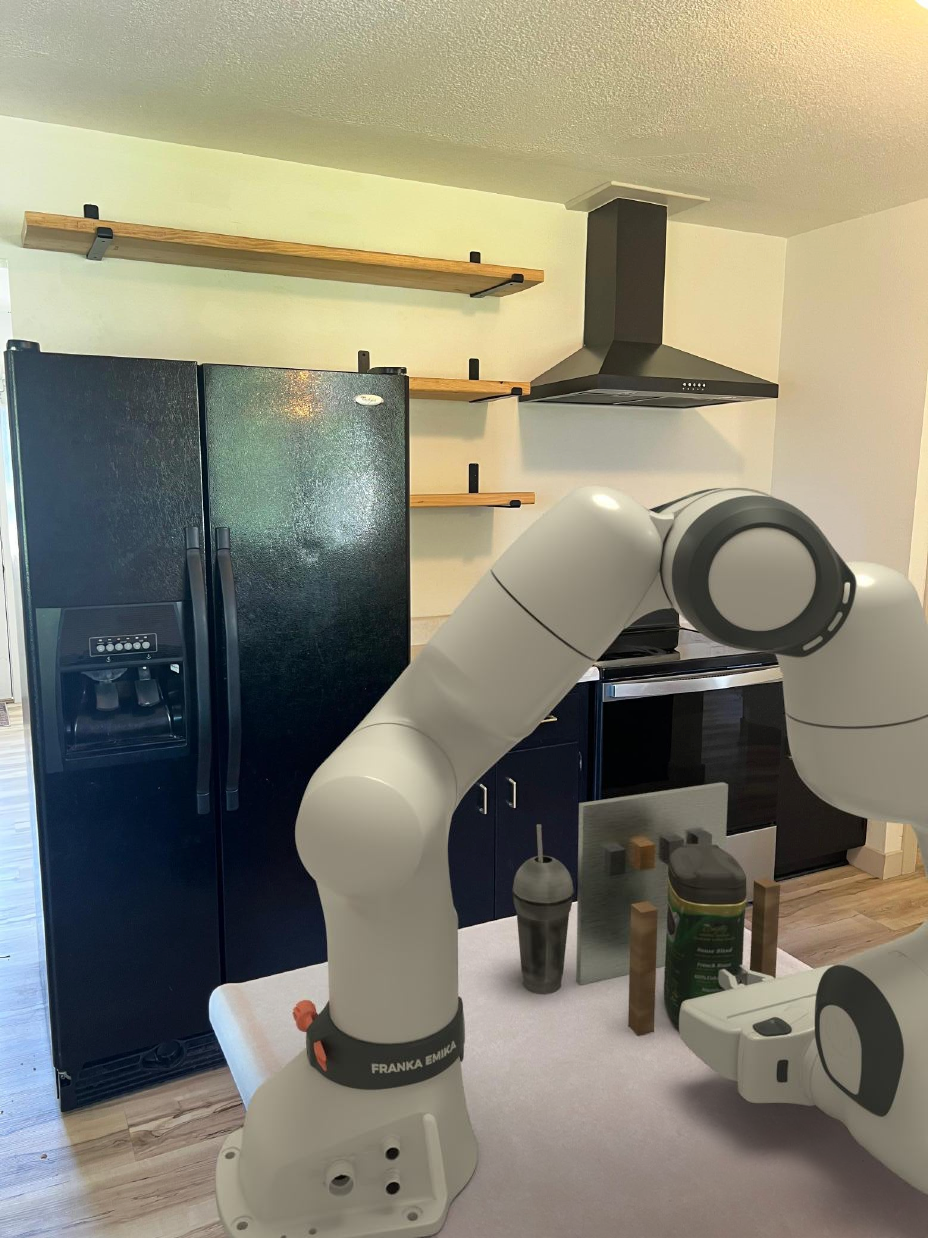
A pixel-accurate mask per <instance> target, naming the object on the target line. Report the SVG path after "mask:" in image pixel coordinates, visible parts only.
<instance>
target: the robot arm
mask: <svg viewBox="0 0 928 1238" xmlns="http://www.w3.org/2000/svg"><path fill="white" fill-rule="evenodd" d="M671 608H672V609H674V610H675V611H676V612H677V613H678V614H679V615H680V616H681V617H682V618H683V619H684V620H685V621H687V622H688V623H689V624H690V625H691V626H692V627H693V628H694V629H695V630H696V631H697V632H699V633H700V634H701V635H703V636H704V637H706V638H707V639H709V640H711V641H713V642H715V643H717V644H720V645H723V646H725V647H728V648H731V649H732V648H733V649H737V650H742V651H748V652H749V651H750V652H758V653H767V654H773V655H775V657H776V660H777V663H778V667H779V670H780V672H781V673H782V690H783V701H784V702H783V703H784V714H785V722H786V731H787V732H786V733H787V740H788V747H789V751H790V756H791V759H792V762H793V764H794V768H795V770H796V771H797V774H798V776H799V778H800V779H801V781H802V782H803V783H804V784H805V785H806V786H807V787H808V789H809V790H810V791H812V792H813V794H814V795H816V796H817V797H818V798H819V799H820V800H822V801H824V802H826V803H827V804H829V805H830V806H832V807H834V808H836V809H838V810H840V811H843V812H845V813H848V814H851V815H854V816H856V817H861V818H864V819H868V820H873V821H877V822H883V823H892V824H903V825H909V826H910V827H911V828H912V831H913V832H914V834H915V837H916V840H917V841H916V842H917V844H918V849H919V853H920V857H921V860H922V864H923V865H922V866H923V868H924V874H925V876H926V881H927V882H928V623H927V617H926V616H925V611H924V608H923V606H922V602H921V599H920V596H919V593H918V591H917V589H916V587H915V585H914V584H913V582H912V581H911V580H910V579H909V578H907V576H906V575H904V574H903V573H902V572H900V571H898V570H896V569H895V568H892V567H889V566H886V565H884V564H879V563H876V562H869V561H863V560H862V561H861V560H860V561H859V560H857V561H844V559H843V558H842V556H841V555H840V554H839V553H838V552H837V550H836V549H835V548H834V546H833V545H832V543H831V542H830V541H829V539H828V538H827V537H826V535H825V534H824V532H823V531H822V530H821V529H820V527H819V526H818V525H817V524H816V523H815V522H814V521H813V520H812V518H811V517H809V516H808V515H807V514H806V513H805V512H803V511H802V510H801V509H799V508H798V507H796V506H795V505H793V504H791V503H789V502H787V501H785V500H783V499H782V500H781V499H780V498H776V497H775V496H773V495H771V494H768V493H766V492H763V491H761V490H757V489H753V488H748V487H717V488H716V487H715V488H706V489H704V490H699V491H695V492H692V493H690V494H687V495H684V496H682V497H680V498H679V497H678V498H677V499H674V500H672V501H669V502H666V503H664V504H663V503H662V504H660V505H657V506H655V507H652V508H650V509H649V508H647V507H645V506H644V505H643V504H642V503H641V502H639V501H638V500H637V499H635V498H634V497H633V496H631V495H629V494H627V493H625V492H623V491H621V490H618V489H616V488H612V487H610V486H604V485H597V484H593V485H592V484H591V485H585V486H580V487H579V488H576V489H574V490H573V491H571V492H569V493H567V495H565V496H564V497H563V498H562V499H561V500H559V501H558V502H556V503H555V504H553V506H550V508H549V509H547V511H546V512H545V513H543V514H542V515H541V516H540V517H539V518H537V519H536V520H535V521H534V522H533V523H532V524H531V525H530V526H529V527H528V528H527V529H525V530H524V531H523V533H521V534H520V535H519V536H518V537H517V538H516V540H514V542H512V544H510V545H509V547H507V548H506V550H505V551H504V552H503V553H502V554H501V556H500V557H499V558H498V559H497V560H496V561H495V562H494V563H493V564H492V565H491V567H490V568H489V569H488V570H487V572H485V573H484V575H483V576H482V578H480V580H479V581H477V583H476V584H475V585H474V587H473V588H472V589H471V590H470V591H469V592H468V593H467V595H466V596H465V597H464V599H463V600H462V601H461V602H460V603H459V604H458V605H457V607H456V608H455V609H454V610H453V612H452V613H451V614H450V615H449V616H447V617H448V618H446V620H445V621H444V622H443V623H442V624H441V626H440V627H439V628H438V629H437V630H436V631H435V633H434V634H432V636H431V638H429V640H428V641H427V642H426V643H425V644H424V646H423V647H422V648H421V650H420V651H419V652H418V654H416V656H415V657H414V658H413V659H412V661H411V662H410V663H409V665H408V666H407V667H406V668H405V669H404V670H403V672H402V673H401V674H400V675H399V677H398V678H397V679H396V681H394V683H393V684H392V685H391V686H390V688H389V689H388V690H387V691H386V692H385V693H384V695H382V697H381V698H380V699H379V700H378V702H377V703H376V704H375V706H374V707H373V708H372V709H371V710H370V712H369V713H367V714H366V716H365V717H364V718H363V720H361V721H360V722H359V724H358V725H357V726H356V727H355V728H354V729H353V731H351V733H350V734H349V735H348V736H347V737H346V738H345V739H344V740H343V741H342V742H341V744H340V745H338V746H337V747H336V749H335V750H334V751H333V752H332V753H330V755H329V756H328V757H327V758H326V759H324V762H322V763H321V765H320V766H319V767H317V769H316V770H315V772H314V773H313V774H312V776H311V778H310V780H309V782H308V784H307V786H306V788H305V791H304V794H303V796H302V800H301V803H300V807H299V810H298V814H297V817H296V821H295V827H294V828H295V830H294V833H295V834H294V836H295V837H294V838H295V845H296V850H297V853H298V856H299V859H300V860H301V863H302V864H303V866H304V868H305V870H306V871H307V872H308V874H309V875H310V876H311V877H312V879H313V880H314V881H315V884H316V887H317V890H318V895H319V898H320V902H321V906H322V907H321V908H322V911H323V916H324V922H325V930H326V931H325V932H326V941H327V942H326V943H327V944H326V945H327V971H328V972H327V973H328V974H327V976H328V977H327V978H328V1001H327V1003H326V1004H325V1006H324V1008H323V1009H322V1010H321V1011H320V1012H319V1013H318V1012H317V1009H316V1008H317V1007H316V1005H315V1003H314V1002H313V1001H311V1000H309V999H304V1000H300V1001H299V1002H297V1003H296V1004H295V1006H294V1007H293V1009H292V1016H293V1019H294V1021H295V1025H296V1028H297V1029H298V1031H300V1032H302V1033H306V1034H305V1046H306V1047H305V1048H304V1049H303V1050H301V1051H300V1052H299V1053H297V1055H296V1056H295V1057H293V1058H292V1059H291V1060H290V1061H288V1062H287V1063H286V1064H285V1065H283V1067H282V1068H280V1069H279V1070H278V1071H277V1072H276V1073H273V1075H272V1076H271V1077H269V1078H268V1079H267V1080H266V1081H264V1082H263V1083H262V1084H261V1085H259V1086H258V1087H257V1089H256V1090H255V1091H254V1093H253V1094H252V1096H251V1098H250V1100H249V1104H248V1105H247V1110H246V1113H245V1116H244V1117H245V1118H244V1122H243V1127H241V1128H239V1129H236V1130H235V1131H232V1133H230V1134H229V1135H228V1137H227V1138H226V1139H225V1141H224V1142H223V1144H222V1146H221V1149H220V1151H219V1153H218V1156H217V1160H216V1165H215V1176H214V1177H215V1179H214V1192H215V1193H214V1194H215V1203H216V1209H217V1214H218V1218H219V1220H220V1224H221V1228H222V1229H223V1231H224V1234H225V1235H226V1238H422V1237H429V1236H432V1235H434V1234H437V1233H438V1232H439V1231H440V1230H441V1229H442V1228H443V1226H444V1224H445V1221H446V1218H447V1215H448V1211H449V1208H450V1205H451V1203H452V1201H453V1200H454V1199H455V1198H456V1196H457V1195H458V1194H459V1193H460V1192H461V1191H462V1190H463V1189H464V1188H465V1186H466V1185H467V1184H468V1182H469V1181H470V1179H471V1178H472V1176H473V1174H474V1172H475V1169H476V1166H477V1164H478V1156H479V1146H478V1145H479V1144H478V1141H477V1137H476V1135H475V1131H474V1128H473V1126H472V1123H471V1119H470V1114H469V1111H468V1107H467V1106H468V1105H467V1101H466V1096H465V1095H466V1094H465V1090H464V1088H465V1087H464V1081H463V1074H462V1073H463V1071H462V1062H463V1060H464V1059H465V1058H464V1057H465V1056H464V1053H465V1043H466V1020H465V1015H464V1014H465V1013H464V1003H463V999H462V997H461V996H459V916H458V913H457V911H456V908H455V906H454V900H453V893H452V888H451V887H452V886H451V878H450V867H449V852H448V851H449V850H448V848H449V847H448V845H449V844H448V843H449V836H450V835H449V833H450V827H451V822H452V817H453V815H454V813H455V811H456V809H457V807H458V806H459V804H460V803H461V800H462V799H463V798H464V796H465V795H466V794H467V792H468V791H469V790H470V789H471V788H472V787H473V786H474V784H475V783H476V782H478V781H479V779H481V777H482V776H483V775H485V773H486V772H488V771H489V769H491V768H492V767H493V766H494V765H495V764H496V763H497V762H498V761H500V759H501V758H502V757H504V756H505V754H507V753H508V752H509V751H510V750H511V749H512V748H514V747H515V746H516V745H517V744H518V743H520V742H521V741H522V740H523V739H524V738H526V737H528V736H530V735H531V734H532V733H533V732H534V731H535V730H536V728H537V727H538V726H539V725H540V724H541V723H542V722H543V721H544V719H545V718H546V717H547V716H548V715H549V714H550V713H551V711H553V710H554V709H555V707H556V706H557V705H558V704H559V703H560V702H561V701H562V700H563V699H564V697H565V696H566V695H568V693H569V692H570V691H571V690H572V689H573V688H574V686H575V685H576V684H577V683H578V682H579V681H580V680H581V678H582V677H583V676H585V675H586V673H587V672H589V670H590V669H591V668H592V667H593V665H594V664H596V662H597V661H598V659H600V658H601V656H602V655H603V654H604V653H605V652H606V651H607V650H608V648H609V647H610V646H611V645H612V644H613V642H614V641H615V640H616V639H617V637H618V636H619V635H620V634H621V632H622V631H623V630H624V629H628V627H629V626H631V625H632V624H633V623H634V622H635V621H637V620H638V619H640V618H643V617H644V616H645V615H648V614H650V613H652V612H654V611H655V612H656V611H658V610H663V609H664V610H665V609H671ZM718 982H719V984H720V986H721V987H722V988H724V989H725V990H726V991H722V992H718V993H714V994H710V995H706V996H702V997H698V998H694V999H689V1000H685V1001H683V1002H682V1004H681V1008H680V1015H679V1026H678V1031H679V1038H680V1040H681V1042H682V1043H683V1044H684V1045H685V1046H686V1047H687V1048H688V1049H689V1050H690V1051H691V1052H692V1053H693V1054H694V1055H695V1056H696V1057H697V1058H698V1059H699V1060H701V1062H703V1064H705V1065H706V1066H707V1067H709V1068H710V1070H712V1071H713V1072H715V1073H716V1074H717V1075H719V1076H721V1077H723V1078H725V1079H727V1080H730V1081H731V1080H732V1081H737V1090H738V1093H739V1094H740V1095H741V1097H742V1098H744V1099H745V1101H747V1102H749V1103H751V1104H752V1103H753V1104H773V1103H774V1104H775V1103H776V1104H777V1103H778V1104H795V1105H802V1106H808V1107H811V1106H816V1107H817V1108H818V1109H819V1110H820V1111H822V1112H823V1113H825V1114H826V1115H828V1116H829V1117H831V1118H833V1119H835V1120H838V1121H839V1122H841V1123H842V1124H844V1125H845V1127H846V1128H847V1130H848V1131H849V1133H850V1134H851V1136H852V1137H853V1138H854V1140H855V1141H856V1142H857V1143H858V1144H859V1145H860V1146H861V1147H863V1148H864V1149H865V1150H866V1151H867V1152H868V1153H870V1154H871V1155H872V1156H873V1157H874V1158H875V1159H877V1160H878V1162H880V1163H881V1164H883V1166H885V1167H886V1168H888V1170H890V1171H892V1172H893V1173H894V1174H895V1175H896V1176H898V1177H900V1178H901V1179H902V1180H903V1181H905V1182H906V1183H908V1184H909V1185H910V1186H912V1187H913V1188H915V1189H916V1190H918V1191H920V1192H921V1193H923V1194H925V1195H926V1196H928V917H927V918H926V919H925V920H924V922H923V923H922V924H920V926H919V927H918V928H916V929H915V930H914V931H912V932H910V933H908V934H904V935H902V936H900V937H897V938H895V939H893V940H891V941H888V942H886V943H884V944H882V945H879V946H875V947H872V948H869V949H867V950H865V951H863V952H860V953H857V954H855V955H853V956H851V957H848V958H846V959H844V960H842V961H839V962H838V963H835V964H828V965H824V966H820V967H816V968H812V969H808V970H803V971H801V972H795V973H792V974H787V975H784V976H780V977H776V978H774V977H772V976H769V975H766V974H762V973H758V972H754V971H751V970H750V968H748V967H747V966H746V965H744V964H742V965H739V966H736V967H732V968H727V969H722V970H719V976H718Z"/></svg>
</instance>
